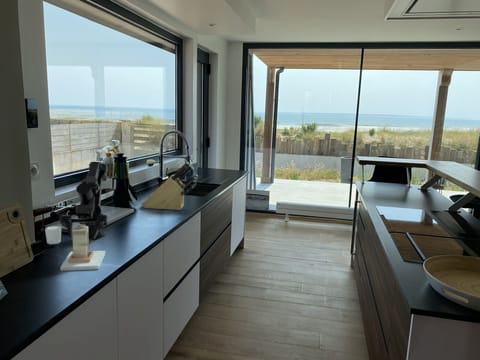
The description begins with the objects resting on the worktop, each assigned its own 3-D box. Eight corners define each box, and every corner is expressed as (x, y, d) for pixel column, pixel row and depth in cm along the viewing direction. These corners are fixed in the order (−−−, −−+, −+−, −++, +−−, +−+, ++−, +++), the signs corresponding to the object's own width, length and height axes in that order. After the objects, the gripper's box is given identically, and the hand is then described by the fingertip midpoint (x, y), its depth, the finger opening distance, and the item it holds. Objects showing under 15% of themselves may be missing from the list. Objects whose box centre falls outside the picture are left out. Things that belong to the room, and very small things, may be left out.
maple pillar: (76, 256, 152) (75, 224, 150) (89, 255, 154) (88, 224, 151) (73, 261, 148) (72, 228, 145) (86, 260, 149) (85, 227, 146)
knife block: (195, 211, 235) (196, 164, 229) (140, 208, 236) (140, 161, 230) (197, 207, 246) (198, 161, 240) (145, 204, 247) (145, 159, 241)
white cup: (46, 240, 173) (46, 226, 172) (62, 239, 176) (62, 225, 174) (44, 245, 167) (43, 230, 166) (61, 244, 169) (60, 229, 168)
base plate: (70, 254, 157) (70, 248, 157) (105, 253, 160) (104, 247, 160) (60, 270, 142) (60, 263, 141) (98, 269, 145) (98, 262, 144)
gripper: (59, 196, 151) (52, 230, 143) (106, 196, 155) (103, 229, 147) (65, 209, 160) (59, 242, 152) (109, 209, 164) (106, 241, 156)
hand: (82, 238), depth 151 cm, fingers open, 9 cm apart
